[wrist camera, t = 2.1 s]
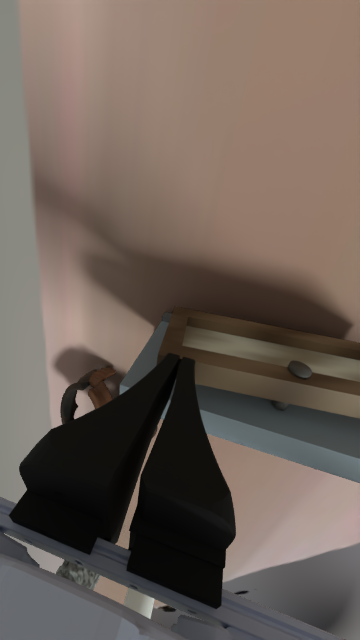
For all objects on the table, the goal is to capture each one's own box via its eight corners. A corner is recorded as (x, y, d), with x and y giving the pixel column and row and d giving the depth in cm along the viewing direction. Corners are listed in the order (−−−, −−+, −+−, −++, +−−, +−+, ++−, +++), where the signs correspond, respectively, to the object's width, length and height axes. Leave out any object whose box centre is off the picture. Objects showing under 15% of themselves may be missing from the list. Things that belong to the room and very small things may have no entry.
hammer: (73, 516, 69) (79, 506, 50) (104, 522, 71) (122, 514, 51) (47, 590, 58) (42, 614, 39) (85, 594, 60) (98, 619, 40)
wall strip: (383, 367, 19) (495, 493, 11) (351, 404, 21) (422, 530, 13) (165, 311, 21) (119, 378, 13) (160, 350, 24) (119, 427, 16)
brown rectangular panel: (383, 344, 16) (465, 413, 11) (359, 374, 18) (419, 447, 13) (175, 302, 17) (158, 349, 12) (170, 336, 18) (153, 390, 13)
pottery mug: (106, 415, 33) (53, 442, 26) (110, 355, 33) (57, 366, 26) (172, 445, 27) (126, 490, 20) (178, 372, 27) (133, 391, 20)
